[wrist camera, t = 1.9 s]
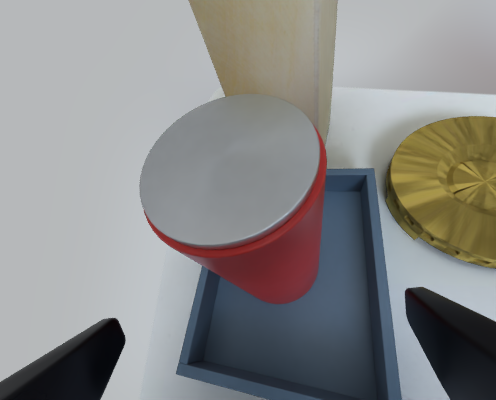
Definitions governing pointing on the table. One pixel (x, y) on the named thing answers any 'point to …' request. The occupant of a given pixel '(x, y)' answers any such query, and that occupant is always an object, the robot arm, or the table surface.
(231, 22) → the toy refrigerator
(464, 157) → the gold round disc
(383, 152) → the table surface
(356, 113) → the table surface
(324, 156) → the can
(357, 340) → the tray
